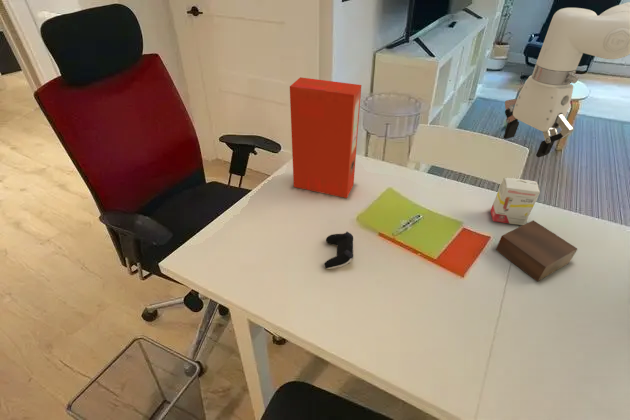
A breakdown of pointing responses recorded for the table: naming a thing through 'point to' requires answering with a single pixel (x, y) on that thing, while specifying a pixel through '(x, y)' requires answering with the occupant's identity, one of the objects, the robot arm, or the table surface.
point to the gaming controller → (340, 250)
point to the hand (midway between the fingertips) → (524, 146)
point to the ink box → (514, 201)
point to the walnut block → (535, 250)
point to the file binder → (324, 134)
